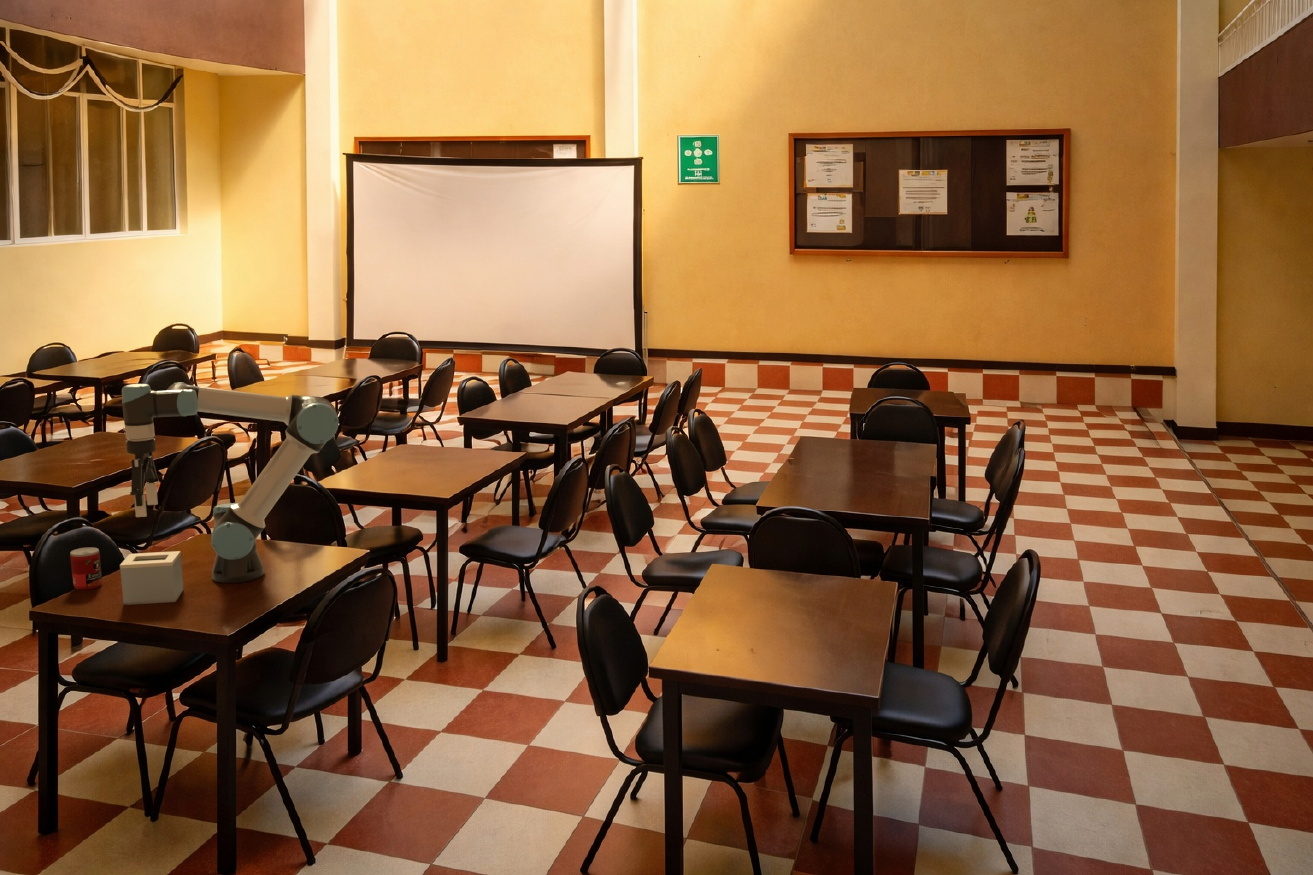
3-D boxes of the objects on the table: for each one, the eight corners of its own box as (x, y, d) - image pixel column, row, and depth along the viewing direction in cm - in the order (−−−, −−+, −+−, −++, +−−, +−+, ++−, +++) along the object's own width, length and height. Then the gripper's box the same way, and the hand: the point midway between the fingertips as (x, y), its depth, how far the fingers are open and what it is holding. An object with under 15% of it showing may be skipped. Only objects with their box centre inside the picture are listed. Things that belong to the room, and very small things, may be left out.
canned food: (90, 590, 326) (87, 555, 324) (67, 588, 328) (63, 553, 326) (108, 582, 334) (104, 548, 331) (85, 580, 335) (81, 546, 333)
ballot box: (183, 589, 327) (180, 551, 325) (175, 601, 317) (172, 562, 315) (133, 592, 325) (129, 553, 322) (123, 604, 314) (119, 565, 312)
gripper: (137, 430, 323) (143, 500, 327) (114, 447, 299) (121, 522, 303) (164, 430, 324) (170, 499, 328) (143, 446, 300) (150, 521, 304)
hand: (147, 510), depth 316 cm, fingers open, 13 cm apart
